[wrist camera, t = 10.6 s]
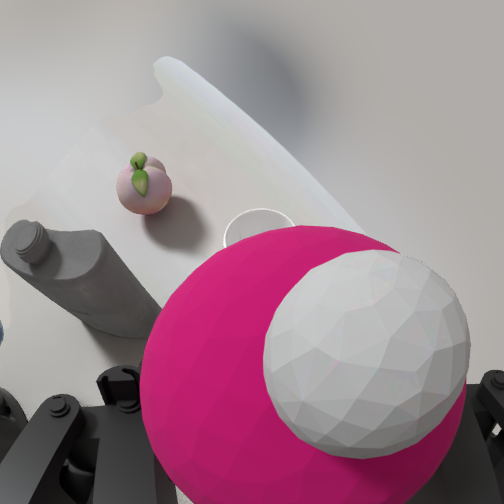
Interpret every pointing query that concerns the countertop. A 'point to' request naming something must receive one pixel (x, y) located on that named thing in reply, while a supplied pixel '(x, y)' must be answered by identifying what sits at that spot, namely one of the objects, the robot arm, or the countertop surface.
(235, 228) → the white cup
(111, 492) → the robot arm
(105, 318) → the flask
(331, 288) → the pepper mill
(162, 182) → the decorative fruit
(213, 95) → the countertop surface
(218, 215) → the countertop surface
